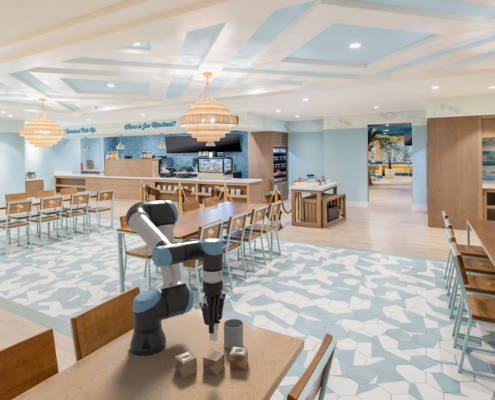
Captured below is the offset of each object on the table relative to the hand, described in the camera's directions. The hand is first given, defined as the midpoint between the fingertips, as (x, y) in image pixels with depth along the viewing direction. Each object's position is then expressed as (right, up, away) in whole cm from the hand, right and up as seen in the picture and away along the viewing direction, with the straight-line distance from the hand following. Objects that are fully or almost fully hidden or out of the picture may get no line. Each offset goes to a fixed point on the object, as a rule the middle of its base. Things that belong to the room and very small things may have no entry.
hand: (213, 339), depth 131 cm
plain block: (0, -12, +1) cm, 12 cm away
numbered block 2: (+10, -12, +4) cm, 16 cm away
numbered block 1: (-11, -12, 0) cm, 16 cm away
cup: (+7, -10, +20) cm, 23 cm away
